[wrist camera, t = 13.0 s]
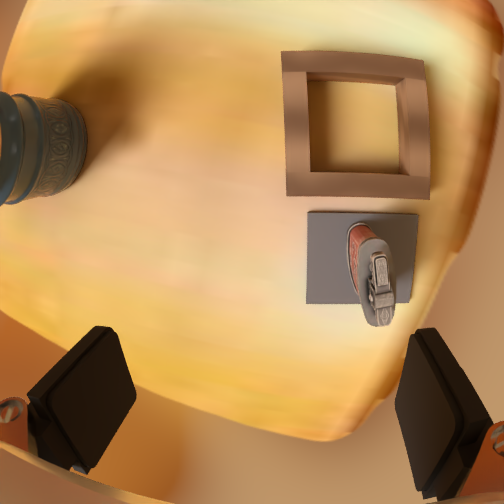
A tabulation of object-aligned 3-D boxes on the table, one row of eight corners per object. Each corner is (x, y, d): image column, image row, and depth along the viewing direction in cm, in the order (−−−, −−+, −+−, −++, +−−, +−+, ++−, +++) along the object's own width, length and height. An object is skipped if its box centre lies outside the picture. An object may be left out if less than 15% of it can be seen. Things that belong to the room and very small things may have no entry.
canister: (92, 190, 35) (-20, 217, 19) (28, 198, 37) (-68, 224, 21) (90, 89, 32) (-19, 68, 15) (25, 112, 34) (-71, 111, 17)
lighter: (380, 290, 33) (405, 336, 23) (351, 296, 34) (367, 344, 24) (372, 219, 31) (401, 243, 22) (341, 224, 32) (358, 251, 22)
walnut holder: (282, 62, 29) (280, 51, 25) (412, 69, 26) (423, 60, 23) (287, 192, 32) (286, 196, 29) (417, 195, 30) (429, 199, 27)
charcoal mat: (307, 212, 33) (307, 213, 32) (416, 214, 31) (418, 215, 30) (306, 301, 35) (306, 303, 35) (407, 300, 33) (409, 302, 33)
